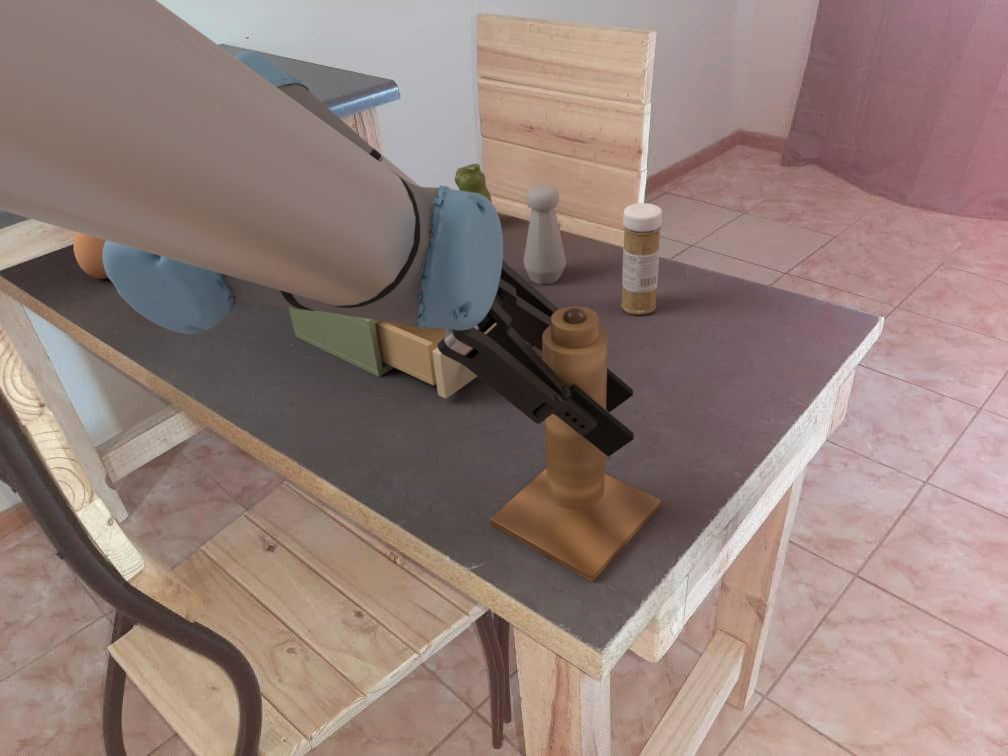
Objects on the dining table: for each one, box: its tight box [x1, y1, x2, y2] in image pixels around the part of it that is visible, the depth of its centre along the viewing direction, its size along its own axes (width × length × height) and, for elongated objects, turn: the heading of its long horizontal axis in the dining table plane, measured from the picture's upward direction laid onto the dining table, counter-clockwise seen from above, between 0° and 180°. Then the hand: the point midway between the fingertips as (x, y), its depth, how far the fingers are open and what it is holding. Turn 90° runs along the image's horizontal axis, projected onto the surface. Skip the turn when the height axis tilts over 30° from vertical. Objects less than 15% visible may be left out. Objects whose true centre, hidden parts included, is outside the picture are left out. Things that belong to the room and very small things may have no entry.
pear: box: [454, 163, 493, 204], centre depth 121 cm, size 6×5×10 cm
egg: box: [73, 232, 109, 280], centre depth 114 cm, size 6×6×8 cm
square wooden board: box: [489, 467, 662, 583], centre depth 70 cm, size 11×11×1 cm
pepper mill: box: [541, 305, 609, 510], centre depth 63 cm, size 5×5×18 cm
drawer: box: [375, 321, 534, 400], centre depth 90 cm, size 19×13×6 cm
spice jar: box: [620, 202, 663, 316], centre depth 96 cm, size 5×5×14 cm
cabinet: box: [288, 308, 395, 378], centre depth 97 cm, size 16×15×8 cm
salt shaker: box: [523, 184, 567, 285], centre depth 104 cm, size 6×6×13 cm
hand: (620, 422), depth 63 cm, fingers closed on pepper mill, 5 cm apart
